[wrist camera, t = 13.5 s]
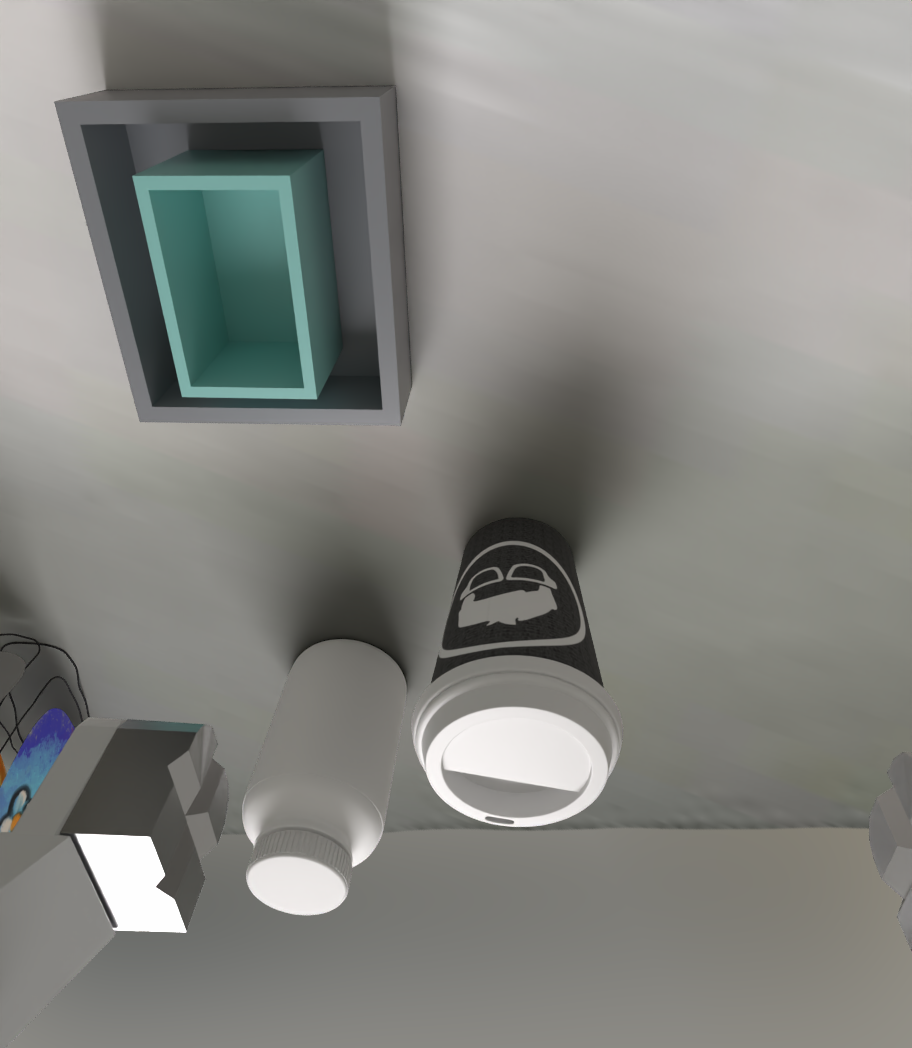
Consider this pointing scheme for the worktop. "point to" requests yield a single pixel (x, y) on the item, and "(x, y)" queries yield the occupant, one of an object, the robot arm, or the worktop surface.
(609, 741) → the coffee cup
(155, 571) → the worktop surface
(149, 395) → the large crate
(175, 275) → the small crate
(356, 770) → the pill bottle
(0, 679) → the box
